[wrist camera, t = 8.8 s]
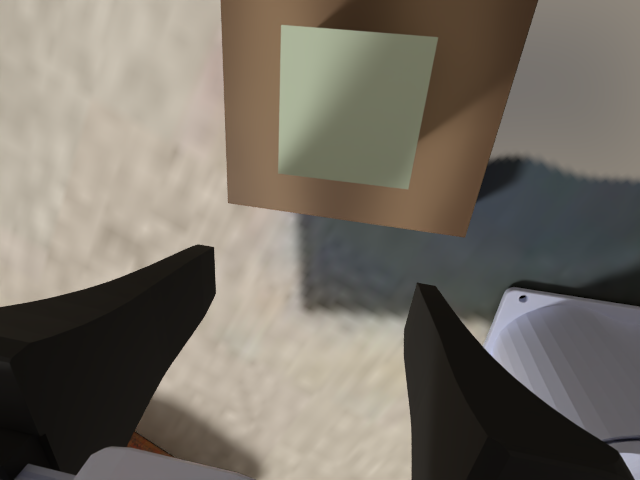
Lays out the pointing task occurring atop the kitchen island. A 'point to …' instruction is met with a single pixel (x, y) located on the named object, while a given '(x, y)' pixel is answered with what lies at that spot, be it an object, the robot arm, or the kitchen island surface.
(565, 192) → the kitchen island surface
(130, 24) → the kitchen island surface
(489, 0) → the plinth
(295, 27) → the block
